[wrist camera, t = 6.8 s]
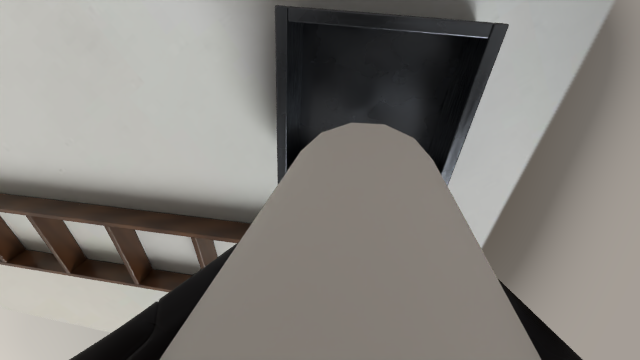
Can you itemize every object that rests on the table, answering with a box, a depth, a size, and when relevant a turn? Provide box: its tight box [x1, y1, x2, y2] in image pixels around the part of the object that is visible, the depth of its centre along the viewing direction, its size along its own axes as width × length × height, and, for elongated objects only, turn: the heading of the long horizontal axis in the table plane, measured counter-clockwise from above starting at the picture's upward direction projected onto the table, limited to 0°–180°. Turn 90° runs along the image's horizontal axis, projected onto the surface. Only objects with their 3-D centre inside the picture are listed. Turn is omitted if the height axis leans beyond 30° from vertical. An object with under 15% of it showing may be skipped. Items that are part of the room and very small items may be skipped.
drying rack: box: [0, 193, 251, 292], centre depth 28 cm, size 54×9×2 cm, turn 90°
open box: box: [275, 5, 509, 186], centre depth 16 cm, size 10×10×4 cm
